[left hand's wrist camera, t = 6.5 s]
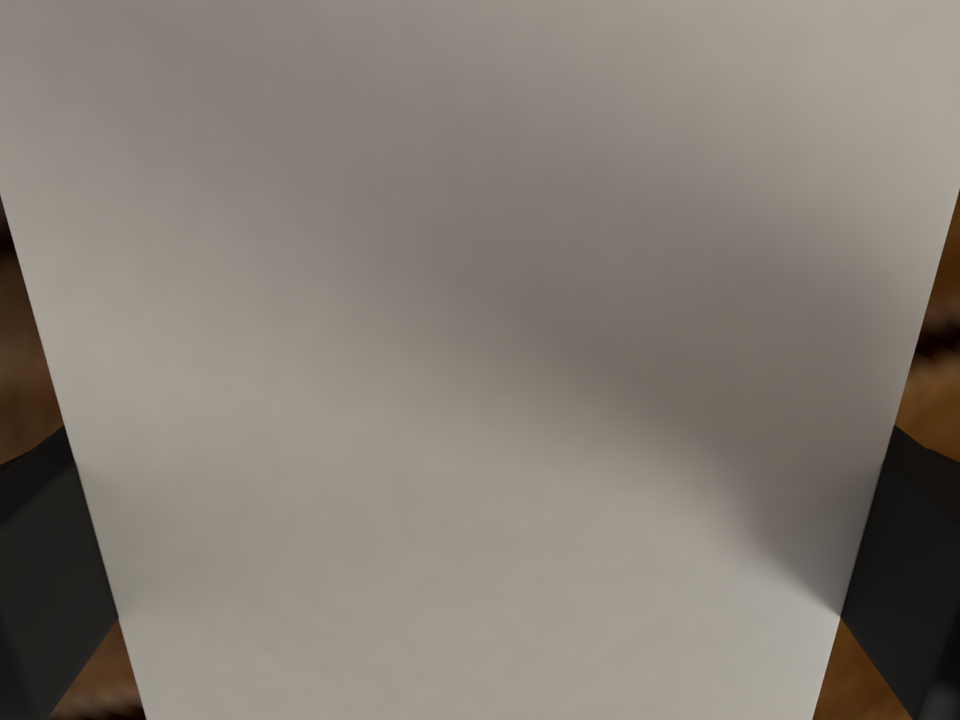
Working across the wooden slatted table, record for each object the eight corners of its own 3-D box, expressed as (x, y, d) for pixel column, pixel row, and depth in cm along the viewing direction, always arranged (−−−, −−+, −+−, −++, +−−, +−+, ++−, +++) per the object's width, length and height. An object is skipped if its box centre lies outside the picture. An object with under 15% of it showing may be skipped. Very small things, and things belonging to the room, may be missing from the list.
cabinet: (183, -462, 11) (-625, -2030, 3) (773, -461, 11) (1577, -2015, 3) (300, 474, 19) (158, 765, 10) (658, 474, 19) (801, 764, 10)
